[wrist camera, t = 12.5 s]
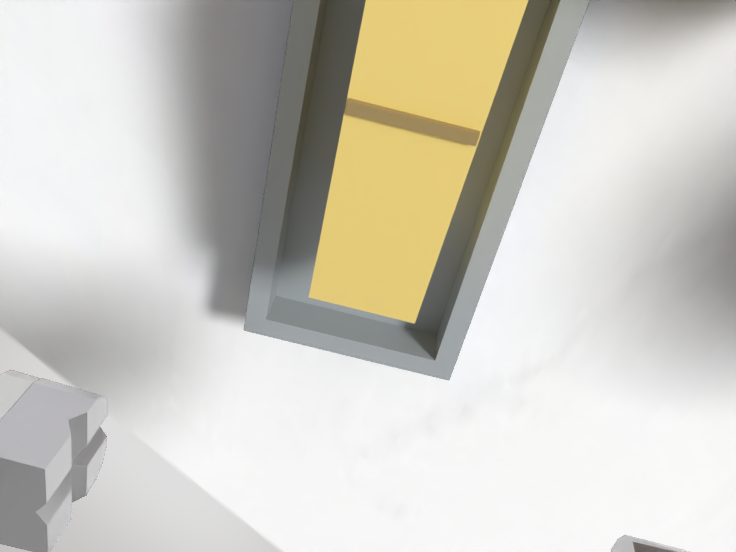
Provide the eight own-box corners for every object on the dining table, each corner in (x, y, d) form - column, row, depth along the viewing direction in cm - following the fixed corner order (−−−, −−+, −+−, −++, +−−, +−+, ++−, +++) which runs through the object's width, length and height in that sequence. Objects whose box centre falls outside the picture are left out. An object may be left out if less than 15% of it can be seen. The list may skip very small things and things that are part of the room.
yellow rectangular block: (429, 216, 23) (414, 327, 19) (340, 194, 23) (307, 300, 19) (537, -119, 16) (547, -52, 12) (412, -152, 16) (383, -94, 12)
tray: (449, 346, 26) (449, 380, 24) (257, 299, 26) (243, 330, 24) (599, -71, 18) (613, -64, 17) (327, -141, 18) (314, -140, 17)
